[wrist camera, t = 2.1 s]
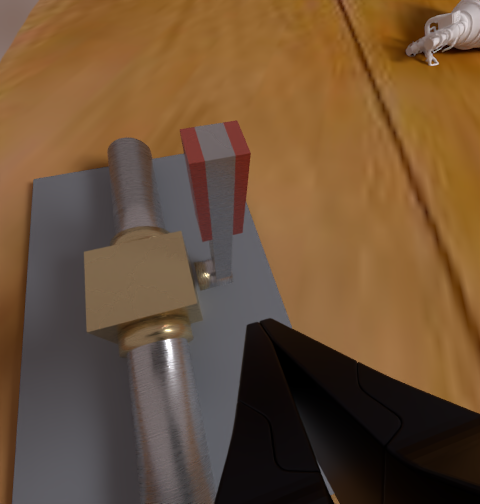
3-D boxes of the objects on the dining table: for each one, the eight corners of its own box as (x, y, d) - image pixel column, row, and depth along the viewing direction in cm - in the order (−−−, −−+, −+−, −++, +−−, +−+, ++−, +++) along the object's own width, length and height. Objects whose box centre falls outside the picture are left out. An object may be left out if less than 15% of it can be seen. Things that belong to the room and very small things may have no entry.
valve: (244, 502, 15) (251, 547, 11) (136, 545, 14) (96, 614, 10) (169, 167, 26) (157, 124, 22) (105, 178, 25) (79, 135, 21)
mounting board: (343, 481, 16) (350, 486, 15) (18, 614, 13) (3, 631, 12) (225, 154, 28) (225, 146, 27) (40, 186, 25) (33, 179, 24)
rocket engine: (456, -29, 28) (599, -100, 29) (380, 15, 39) (487, -37, 39) (459, 87, 34) (581, 26, 34) (391, 99, 44) (486, 52, 44)
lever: (238, 285, 19) (252, 157, 8) (201, 294, 19) (167, 172, 8) (230, 260, 20) (235, 116, 9) (195, 269, 20) (157, 128, 9)
